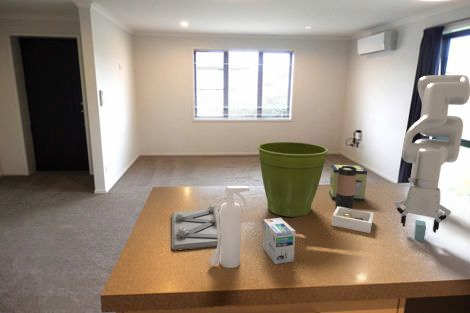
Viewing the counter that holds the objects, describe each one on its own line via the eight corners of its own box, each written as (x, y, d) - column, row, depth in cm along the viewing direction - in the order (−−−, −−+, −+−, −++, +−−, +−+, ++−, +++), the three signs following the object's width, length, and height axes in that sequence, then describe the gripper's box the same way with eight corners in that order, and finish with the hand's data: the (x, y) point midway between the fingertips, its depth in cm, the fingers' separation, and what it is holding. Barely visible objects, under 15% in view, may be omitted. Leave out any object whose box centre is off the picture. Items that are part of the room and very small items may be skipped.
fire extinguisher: (204, 260, 97) (207, 185, 91) (240, 254, 102) (244, 182, 96) (211, 272, 91) (214, 192, 85) (248, 265, 96) (253, 189, 90)
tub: (336, 217, 131) (337, 206, 130) (372, 224, 124) (373, 212, 123) (331, 227, 121) (332, 215, 120) (369, 235, 115) (371, 223, 114)
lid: (377, 226, 124) (379, 210, 122) (422, 234, 117) (424, 218, 115) (375, 238, 113) (377, 221, 112) (424, 248, 106) (426, 230, 105)
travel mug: (354, 215, 133) (358, 170, 129) (335, 213, 134) (339, 169, 130) (351, 208, 140) (355, 166, 136) (333, 207, 142) (337, 165, 137)
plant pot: (294, 230, 118) (299, 158, 112) (242, 207, 140) (243, 146, 134) (336, 211, 137) (341, 148, 131) (284, 193, 159) (287, 139, 153)
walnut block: (353, 224, 122) (354, 217, 121) (362, 225, 121) (362, 218, 120) (355, 227, 119) (355, 220, 118) (363, 228, 118) (364, 221, 118)
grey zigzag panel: (171, 216, 131) (170, 201, 130) (221, 213, 135) (221, 197, 134) (172, 253, 102) (171, 233, 101) (235, 246, 107) (235, 228, 105)
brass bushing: (344, 219, 127) (345, 212, 126) (352, 220, 125) (352, 213, 125) (343, 221, 124) (343, 214, 123) (351, 223, 123) (351, 216, 122)
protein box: (328, 192, 162) (330, 164, 158) (359, 194, 159) (362, 165, 156) (331, 199, 151) (334, 169, 148) (364, 201, 149) (368, 170, 146)
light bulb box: (294, 261, 97) (296, 230, 95) (274, 265, 95) (276, 233, 93) (280, 245, 107) (281, 216, 105) (262, 248, 105) (263, 218, 103)
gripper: (397, 182, 108) (391, 227, 112) (456, 190, 101) (448, 238, 104) (397, 177, 115) (392, 219, 119) (453, 184, 107) (445, 229, 111)
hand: (418, 228), depth 111 cm, fingers open, 9 cm apart
